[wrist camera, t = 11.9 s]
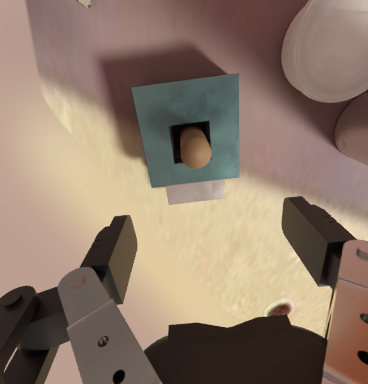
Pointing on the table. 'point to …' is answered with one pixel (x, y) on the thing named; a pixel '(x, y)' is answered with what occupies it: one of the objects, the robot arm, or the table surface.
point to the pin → (194, 146)
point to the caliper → (86, 3)
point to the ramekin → (328, 50)
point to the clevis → (182, 114)
